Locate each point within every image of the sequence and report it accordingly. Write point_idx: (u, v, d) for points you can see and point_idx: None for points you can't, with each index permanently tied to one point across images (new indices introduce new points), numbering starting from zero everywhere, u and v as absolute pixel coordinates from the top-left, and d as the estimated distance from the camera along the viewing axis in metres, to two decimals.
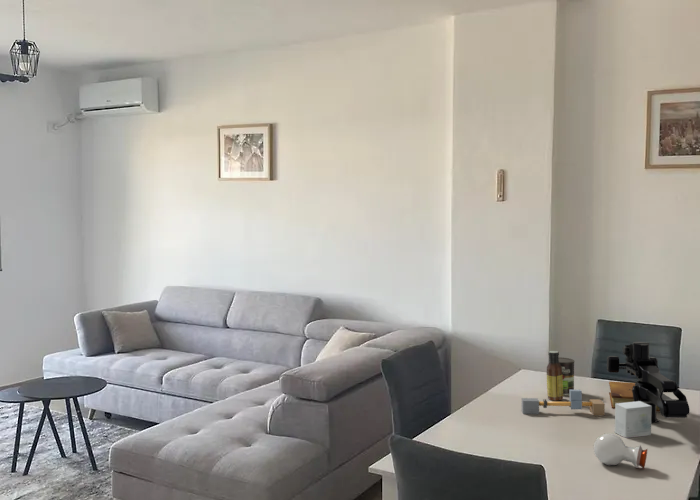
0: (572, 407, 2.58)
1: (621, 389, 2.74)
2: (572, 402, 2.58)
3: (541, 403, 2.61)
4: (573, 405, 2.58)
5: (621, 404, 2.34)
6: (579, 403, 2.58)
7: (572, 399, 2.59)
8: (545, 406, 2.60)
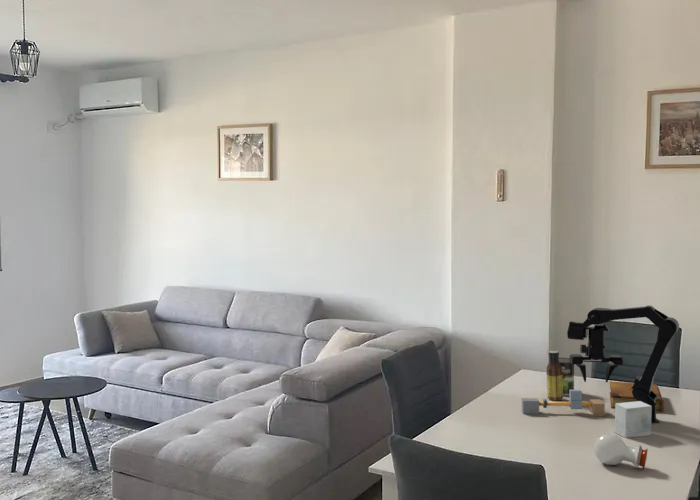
0: (572, 407, 2.58)
1: (621, 389, 2.74)
2: (572, 402, 2.58)
3: (541, 403, 2.61)
4: (573, 405, 2.58)
5: (621, 404, 2.34)
6: (579, 403, 2.58)
7: (572, 399, 2.59)
8: (545, 406, 2.60)
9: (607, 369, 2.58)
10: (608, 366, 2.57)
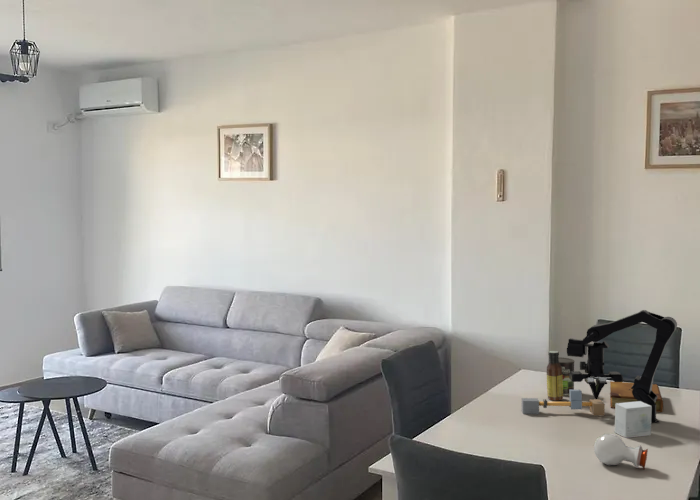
0: (572, 407, 2.58)
1: (621, 389, 2.74)
2: (572, 402, 2.58)
3: (541, 403, 2.61)
4: (573, 405, 2.58)
5: (621, 404, 2.34)
6: (579, 403, 2.58)
7: (572, 399, 2.59)
8: (545, 406, 2.60)
9: (597, 386, 2.59)
10: (598, 383, 2.58)
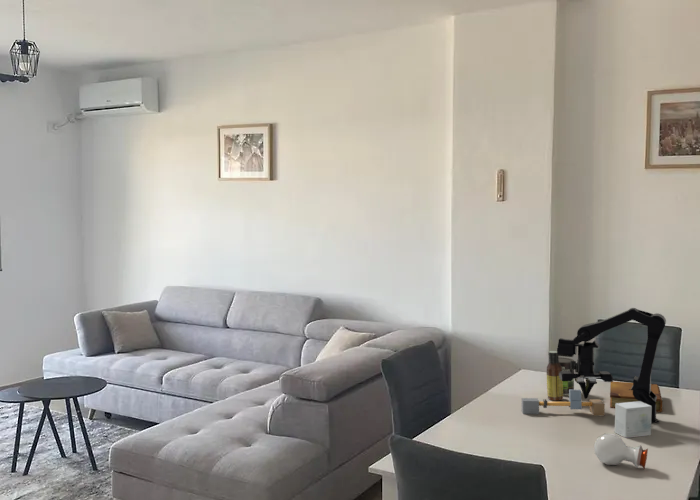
0: (572, 407, 2.58)
1: (621, 389, 2.74)
2: (572, 402, 2.58)
3: (541, 403, 2.61)
4: (573, 405, 2.58)
5: (621, 404, 2.34)
6: (578, 403, 2.58)
7: (572, 399, 2.59)
8: (545, 406, 2.60)
9: (586, 386, 2.59)
10: (587, 383, 2.58)
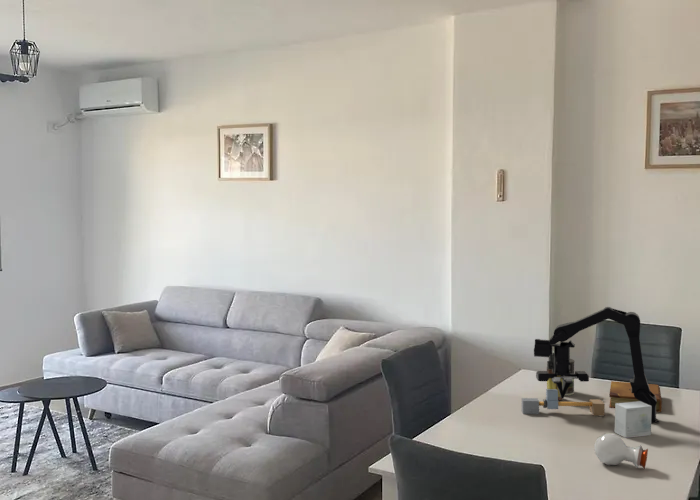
0: (548, 407, 2.59)
1: (621, 389, 2.74)
2: (548, 402, 2.59)
3: (541, 403, 2.61)
4: (549, 405, 2.59)
5: (621, 404, 2.34)
6: (555, 402, 2.59)
7: (548, 399, 2.60)
8: (545, 406, 2.60)
9: (563, 385, 2.60)
10: (564, 382, 2.59)
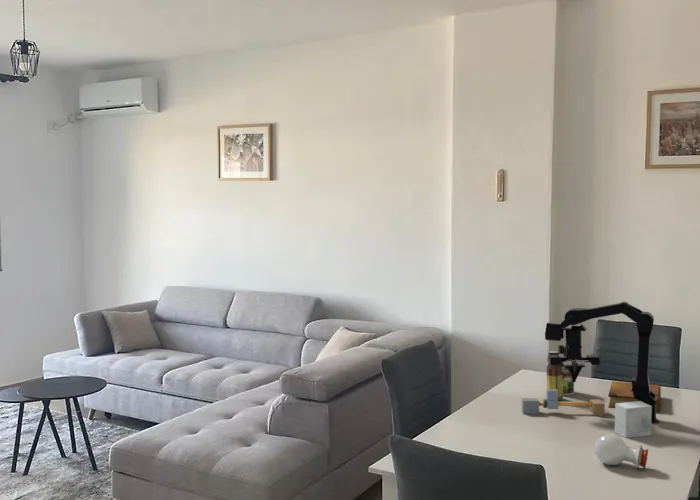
0: (548, 407, 2.59)
1: (621, 389, 2.74)
2: (548, 402, 2.59)
3: (541, 403, 2.61)
4: (549, 405, 2.59)
5: (621, 404, 2.34)
6: (555, 402, 2.59)
7: (549, 399, 2.60)
8: (545, 406, 2.60)
9: (575, 369, 2.60)
10: (575, 366, 2.59)
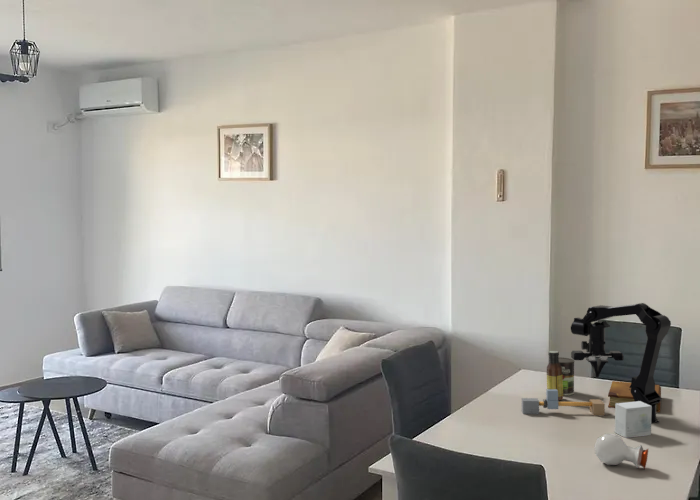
0: (548, 407, 2.59)
1: (621, 389, 2.74)
2: (548, 402, 2.59)
3: (541, 403, 2.61)
4: (549, 405, 2.59)
5: (621, 404, 2.34)
6: (555, 402, 2.59)
7: (549, 399, 2.60)
8: (545, 406, 2.60)
9: (598, 364, 2.66)
10: (599, 362, 2.65)
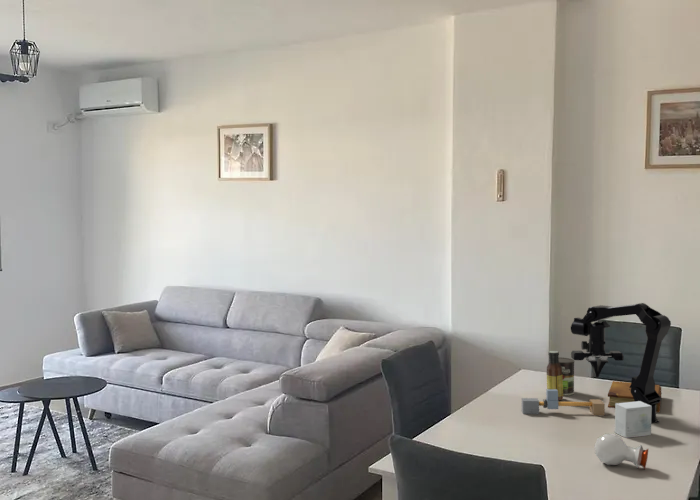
0: (548, 407, 2.59)
1: (621, 389, 2.74)
2: (548, 402, 2.59)
3: (541, 403, 2.61)
4: (549, 405, 2.59)
5: (621, 404, 2.34)
6: (555, 402, 2.59)
7: (549, 399, 2.60)
8: (545, 406, 2.60)
9: (598, 364, 2.66)
10: (599, 362, 2.65)
